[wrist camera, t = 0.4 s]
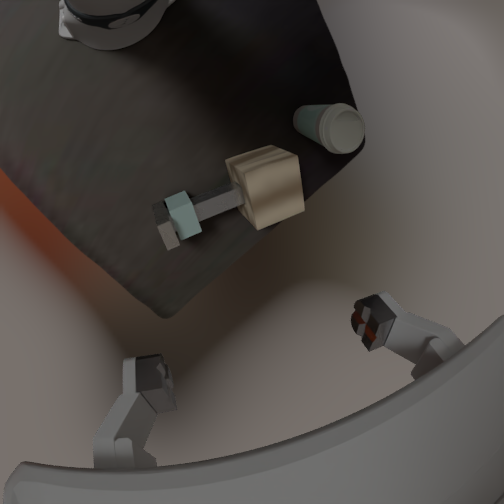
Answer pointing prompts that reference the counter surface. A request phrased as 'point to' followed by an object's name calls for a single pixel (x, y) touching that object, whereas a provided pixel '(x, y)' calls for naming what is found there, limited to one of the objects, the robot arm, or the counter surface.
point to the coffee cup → (331, 126)
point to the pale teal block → (183, 215)
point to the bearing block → (267, 184)
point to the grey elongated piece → (199, 209)
